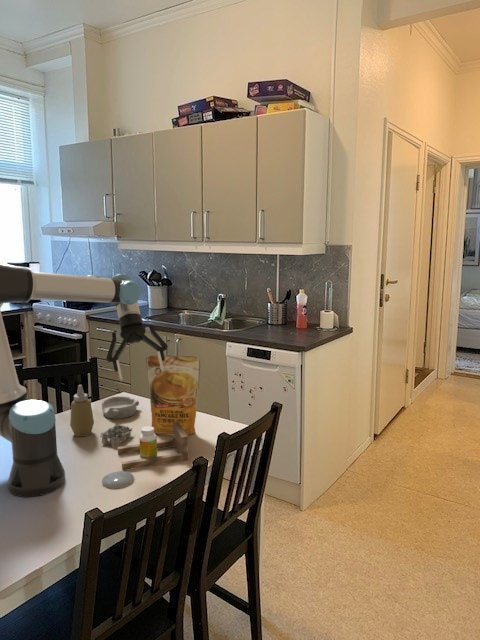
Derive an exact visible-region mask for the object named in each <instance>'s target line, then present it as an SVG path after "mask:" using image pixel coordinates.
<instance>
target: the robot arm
mask: <svg viewBox="0 0 480 640" xmlns="http://www.w3.org/2000/svg"><path fill="white" fill-rule="evenodd" d="M140 297H141V287H140V285H139V284H138V283H137V282H136V281H133V278H132V276H131V275H129V274H128V273H122V274H121V273H118V274H115V275H114V276H112V277H104V276H97V275H92V274H88V275H86V276H85V275H76V274H75V275H74V274H73V275H72V274H64V273H63V274H62V273H53V272H42V271H33V270H31V268H30V267H27V266H21V265H20V266H18V265H14V264H9V263H5V262H0V309H1V307H2V306H3V305H4V304H10V303H11V304H12V303H15V304H16V303H19V304H20V303H21V304H24V303H29V301H31V300H35V301H36V300H38V301H39V300H40V301H41V300H42V301H62V302H63V301H65V302H84V303H85V302H87V303H109V304H115V308H116V312H117V318H118V322H119V328H120V332H115V331H113V332H112V334H111V337H112V339H111V342H110V346H109V349H108V351H107V355H106V361H107V363H112V364H113V369H114V371H115V372H118V376H119V381H120V382H124V379H123V374H122V370H121V365H120V360H119V358H120V356H121V355H122V353H123V352H124V350H125V349H126V347H127V346H128V344H130V345H132V344H134V343H141V341H142V342H143V343H146V344H147V345H148V346H150V347H151V348H153V349H154V350H155V351H157V353H156V354H157V356H158V358H159V363H160V367H161V371H162V372H164V368H163V363H162V361H165V357H164V356H165V353H164V351H167V350H168V344H167V343H166V342H165V341H164V340H163V338H162V337H161V336H160V335H159V334H158V333H157V332H156V330H155V329H154V326H153V325H152V324H149V326H147V327H144V324H143V319H142V315H141V310H140V305H139V303H138V301H139V300H140ZM5 327H6V326H5V324H4V320H3V315H2V311H1V310H0V437H2V438H4V439H5V440H7V441H8V442H10V443H11V451H12V452H11V453H12V465H11V467H10V472H9V476H8V480H7V487H8V491H9V493H10V494H12V495H13V496H17V497H22V498H23V497H24V498H32V497H39V496H42V495H43V496H44V495H46V494H49V493H51V492H54V491H56V490H57V489H59V488H60V487H62V486H63V484H65V481H66V473H65V468H64V466H63V464H62V462H61V460H60V458H59V455H58V444H57V431H56V429H57V428H56V420H57V418H56V414H55V410H54V407H53V406H52V404H51V403H49V402H47V401H44V400H41V399H40V400H37V399H30V398H29V395H28V390H27V388H26V387H25V386H23V385H21V384H20V381H19V378H18V374H17V370H16V366H15V362H14V359H13V354H12V350H11V348H10V344H9V339H8V336H7V331H6V328H5ZM146 332H147V333H149V334H151V336H152V337H153V338H154V339H155V341H156V342H154V341H153V340H152V339H150V338H149V337H148V336H147V335H145V334H146ZM120 337H121V339H122V341H121V344H120V345H119V347H118V348H117V350H116V351H115V348H116V346H117V342H118V340H119V339H120ZM157 343H158V344H157ZM114 352H115V353H114Z"/></svg>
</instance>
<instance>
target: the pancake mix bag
mask: <svg viewBox="0 0 480 640" xmlns="http://www.w3.org/2000/svg"><path fill="white" fill-rule="evenodd" d="M164 357H165V361H162V363H163V368H164V372H162V371H161V367H160V363H159V358H158V355H149V356H147V357H145V361H146V362H145V363H146V373H147V384H148V393H149V394H148V395H149V399H150V400H149V401H150V413H151V427H153V428H154V434H156V435H166V436H168V435H169V436H173V422H179V423H180V425H181V426H182V428H183V429H184V431H185V433H186V434H187V436H190V435H192V434H194V435H195V434H196V428H195V423H196V417H197V406H198V400H199V399H198V398H199V390H200V373H201V372H200V371H201V362H200V361H201V360H200V359H199V358H197V356H191V355H190V356H189V355H188V356H187V355H186V356H184V355H183V356H181V355H164Z"/></svg>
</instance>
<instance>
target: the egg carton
mask: <svg viewBox="0 0 480 640" xmlns="http://www.w3.org/2000/svg"><path fill="white" fill-rule="evenodd" d="M132 432H133V427H131V428H130V427H129V426H125V425H120V424H119V423H116V424H115V425H113V427H111V428H110V427H109V428H108V429H107V430H105V431H103V432H101V433H100V436H99V438H101V443H102V444H103V445H105V446H106V445H111V446H112V447H115V446H120V445H121V442H125V441H126V439H127V438H131V437H132V435H131V434H132Z"/></svg>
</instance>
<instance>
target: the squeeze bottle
mask: <svg viewBox="0 0 480 640" xmlns="http://www.w3.org/2000/svg"><path fill="white" fill-rule="evenodd" d="M88 397H89V396H88V393H85V391H84V388H83V385H82V384H78V385H77V392H76V393H75V394H74V395H73V401H72V402H71V404H70V421H69V422H70V424H69V425H70V428H71V431H72V432H73V435H74V436H76V437H86V436H89V435H91V433H92V431H93V427H94V424H95V421H94V415H93V408H92V402H91V400H90V399H88Z"/></svg>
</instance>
